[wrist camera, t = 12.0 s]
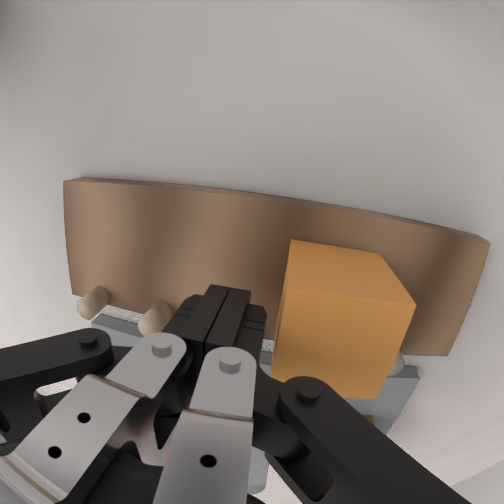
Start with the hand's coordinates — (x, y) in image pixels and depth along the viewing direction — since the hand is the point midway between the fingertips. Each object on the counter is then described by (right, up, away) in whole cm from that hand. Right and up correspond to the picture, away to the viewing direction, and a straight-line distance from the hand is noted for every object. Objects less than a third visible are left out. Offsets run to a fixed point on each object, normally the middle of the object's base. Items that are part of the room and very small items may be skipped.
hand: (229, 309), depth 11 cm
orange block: (+4, 0, +2) cm, 5 cm away
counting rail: (+2, +2, +4) cm, 5 cm away
